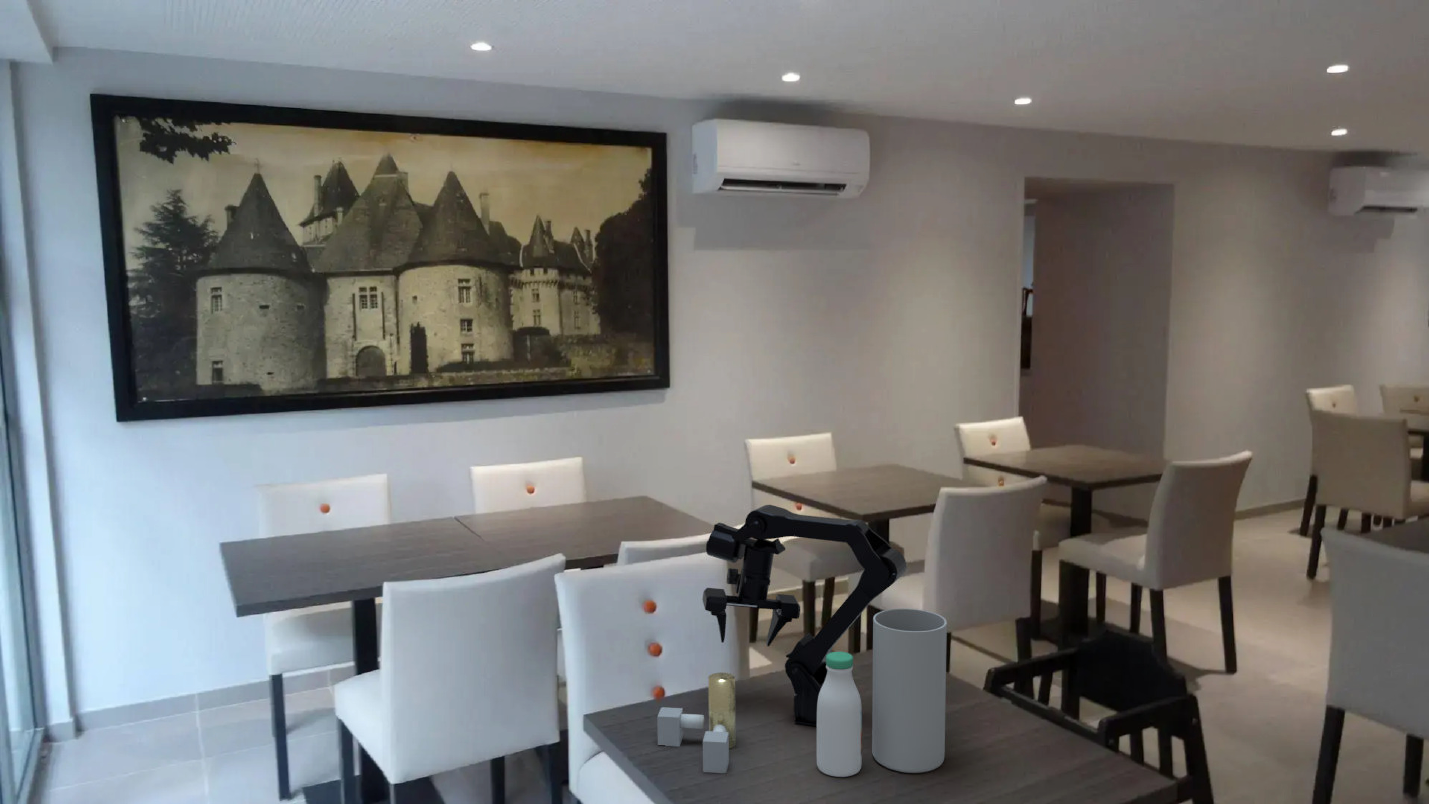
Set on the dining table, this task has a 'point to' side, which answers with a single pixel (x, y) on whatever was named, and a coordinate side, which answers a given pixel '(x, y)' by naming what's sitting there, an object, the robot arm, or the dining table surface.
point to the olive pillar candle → (722, 703)
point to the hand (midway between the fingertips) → (745, 643)
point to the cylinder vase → (909, 689)
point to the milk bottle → (839, 719)
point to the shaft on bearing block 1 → (675, 725)
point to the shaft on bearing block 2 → (716, 750)
